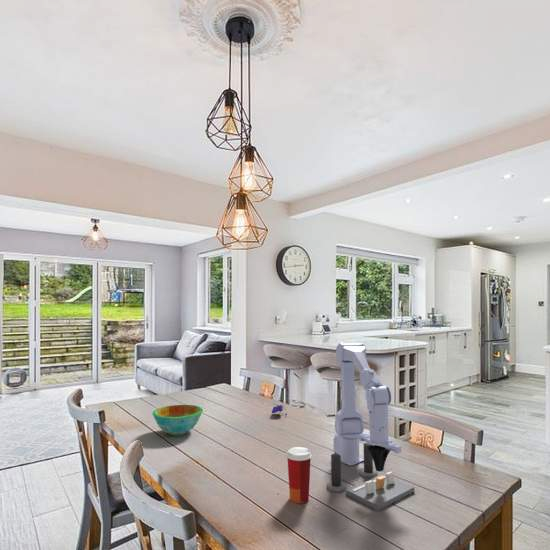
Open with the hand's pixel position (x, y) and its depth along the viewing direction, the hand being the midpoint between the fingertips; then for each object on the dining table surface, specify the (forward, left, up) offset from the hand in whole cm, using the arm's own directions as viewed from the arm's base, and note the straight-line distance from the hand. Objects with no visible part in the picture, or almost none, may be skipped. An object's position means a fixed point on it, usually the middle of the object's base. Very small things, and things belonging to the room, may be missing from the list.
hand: (379, 470), depth 121 cm
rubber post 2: (-11, +8, -7) cm, 15 cm away
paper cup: (-13, -22, -7) cm, 26 cm away
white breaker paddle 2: (0, +5, -5) cm, 7 cm away
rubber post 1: (-11, -8, -7) cm, 15 cm away
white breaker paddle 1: (0, -5, -5) cm, 7 cm away
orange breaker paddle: (0, 0, -5) cm, 5 cm away
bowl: (-92, -26, -7) cm, 96 cm away
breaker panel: (0, 0, -7) cm, 7 cm away
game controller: (-85, +28, -7) cm, 90 cm away
